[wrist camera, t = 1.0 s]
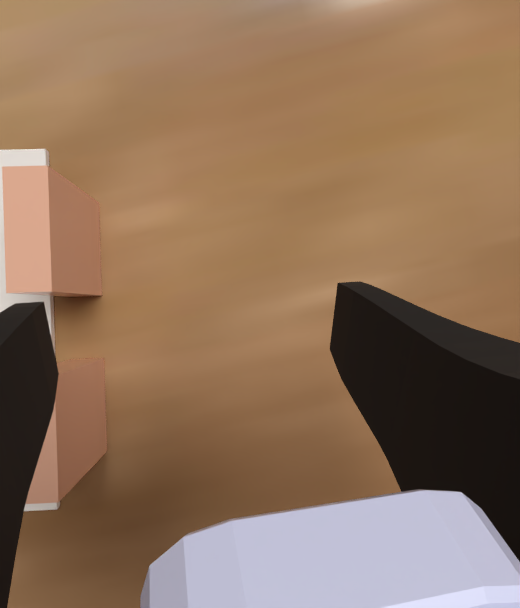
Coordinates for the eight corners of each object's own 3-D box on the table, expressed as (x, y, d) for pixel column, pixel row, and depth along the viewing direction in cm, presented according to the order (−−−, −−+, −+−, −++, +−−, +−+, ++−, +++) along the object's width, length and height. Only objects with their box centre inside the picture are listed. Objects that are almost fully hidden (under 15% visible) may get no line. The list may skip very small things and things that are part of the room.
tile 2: (107, 451, 23) (58, 502, 17) (70, 452, 23) (8, 504, 17) (104, 357, 23) (54, 375, 17) (67, 359, 23) (4, 377, 17)
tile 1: (102, 295, 23) (51, 291, 17) (65, 296, 23) (1, 293, 17) (99, 202, 23) (47, 165, 17) (62, 203, 23) (-3, 166, 17)
